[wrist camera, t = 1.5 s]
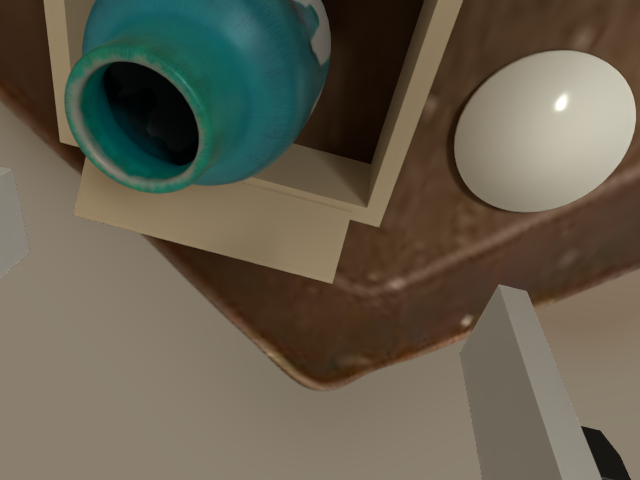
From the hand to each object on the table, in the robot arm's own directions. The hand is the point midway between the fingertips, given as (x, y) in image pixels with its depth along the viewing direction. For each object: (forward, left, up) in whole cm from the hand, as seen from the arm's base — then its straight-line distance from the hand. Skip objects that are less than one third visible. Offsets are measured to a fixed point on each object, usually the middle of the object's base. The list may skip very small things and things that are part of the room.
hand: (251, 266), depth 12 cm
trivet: (+1, +16, -24) cm, 28 cm away
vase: (-1, -5, -24) cm, 24 cm away
